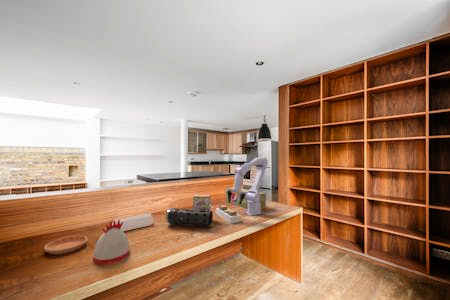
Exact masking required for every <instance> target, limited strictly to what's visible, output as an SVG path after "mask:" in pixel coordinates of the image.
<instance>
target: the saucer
mask: <svg viewBox="0 0 450 300" xmlns="http://www.w3.org/2000/svg"><path fill="white" fill-rule="evenodd" d="M88 240H89V239H88V237H87V236H85V235H71V236H66V237H62V238H57V239H55V240H52V241H50V242H48V243H46V244H45V245H44V251H45V252H46V253H48V254H50V255H54V256H55V255H64V254H68V253H73V252H74V251H77V250H80V248H83V247H84V245H85V244H86V243H88Z"/></svg>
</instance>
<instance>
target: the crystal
mask: <svg viewBox="0 0 450 300" xmlns="http://www.w3.org/2000/svg"><path fill="white" fill-rule="evenodd" d="M118 220H120V224H121V222H123V224H122V226H121V228H120V230H122V231H123V232H126V231H130V230H135V229H139V228H143V227H149V226H152V225H153V222H154V217H153V216H152V214H151V213H150V212H149V213H145V214H137V215H133V216H126V217H121V218H117V219H116V218H115V219H114V220H113V221H112V226H113V223H114V221H115V222H116V225H117V222H118Z"/></svg>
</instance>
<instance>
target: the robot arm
mask: <svg viewBox="0 0 450 300" xmlns="http://www.w3.org/2000/svg"><path fill="white" fill-rule="evenodd" d="M268 164H269V160H268V158H267V157H255V158H253V159H252V160H251V161H250V162H244V164H242V165H240V166H237V167H235V169H234V171H233V173H234V181H233V186H232V188H233V189H228V188H229V187H227V189H226V188H225V192H226V191H228V192H227V194H228V202H227V203H229V204H230V201H231V195H232V191H237V192H239V194H241V195H240V201H239V205H241V203H242V201H243V199H244V197H245V198H246V200H247V201H248V209H247V211H245V214H248V215H249V216H257V215H261V214H262V211H261V210H262V209H261V204H260V202H259V199H260V192H261V191H259V189H260V187H261V183H262V181H263V178H264V175H265V172H266V170H267V168H268ZM252 167H255V168H256V170H257V172H256V174H255V177H254V180H253V183H252V186H251V188H249V189H247V190H248V192H243V191H241V188H242V187H243V181H244V176H245V175H246V174H247V172H249V171H251V169H252ZM237 192H234V193H237Z"/></svg>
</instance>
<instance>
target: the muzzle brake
mask: <svg viewBox="0 0 450 300" xmlns="http://www.w3.org/2000/svg"><path fill="white" fill-rule="evenodd" d="M164 218H165V222H166V223H168V224H170V225H176V226H179V227H182V226H191V227H195V228H205V229H207V228H209V229H210V228H212V227H211V226H212V224H213V219H214V213H213V211H212V210H210V211H201V210H193V209H182V208H180V209H179V208H169V209H167V211H166V212H165V217H164Z"/></svg>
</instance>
